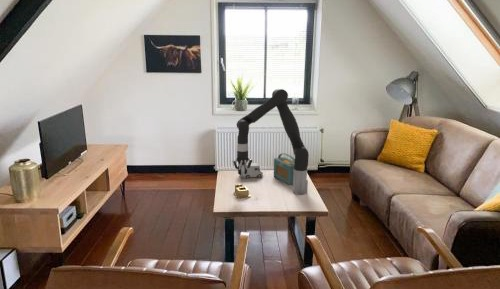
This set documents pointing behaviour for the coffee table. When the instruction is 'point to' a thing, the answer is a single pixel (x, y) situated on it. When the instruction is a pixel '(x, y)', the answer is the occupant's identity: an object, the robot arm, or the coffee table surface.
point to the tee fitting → (241, 191)
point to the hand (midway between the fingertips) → (242, 174)
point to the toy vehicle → (254, 171)
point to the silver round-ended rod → (242, 172)
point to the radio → (284, 168)
